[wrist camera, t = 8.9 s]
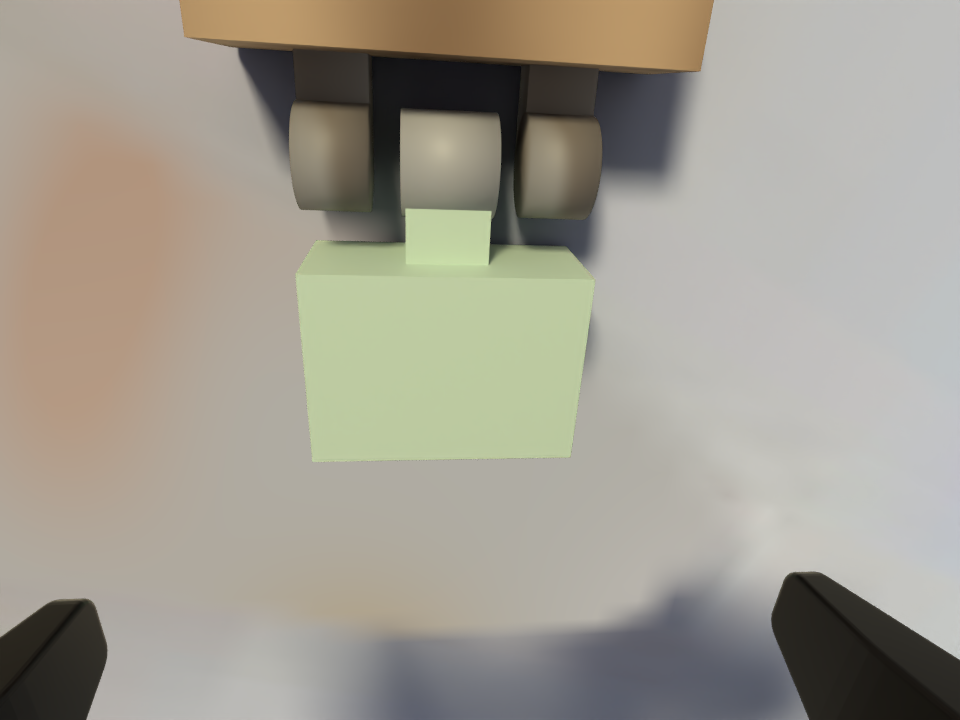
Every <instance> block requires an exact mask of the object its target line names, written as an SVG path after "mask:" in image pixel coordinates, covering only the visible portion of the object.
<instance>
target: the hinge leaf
mask: <svg viewBox="0 0 960 720" xmlns="http://www.w3.org/2000/svg"><path fill="white" fill-rule="evenodd" d="M500 172H501V128H500V119H499V115H498V113H494V112H473V111H453V110H432V109H411V108H401V117H400V186H401V214H402V216H406V242H363V241H320V240H316V242H315V243H314V245H313V247H312V248H311V250H310V251H309V253H308V255H307V256H306V258H305V260H304V261H303V263H302V265H301V266H300V268H299V269H298V271H297V273H296V274H295V275H296V287H297V297H298V309H299V320H300V331H301V342H302V353H303V364H304V375H305V386H306V397H307V407H308V419H309V430H310V441H311V451H312V461H313V462H329V461H330V462H334V461H391V460H451V459H505V458H507V459H509V458H569V457H571V451H572V444H573V437H574V429H575V422H576V415H577V408H578V401H579V394H580V387H581V379H582V372H583V365H584V358H585V351H586V344H587V336H588V329H589V322H590V315H591V308H592V301H593V293H594V286H595V279H594V277H593V276H592V275H591V274H590V273H589V272H588V271H587V270H586V268H585V267H584V266H583V265H582V264H581V263H580V262H579V260H578V259H577V258H576V257H575V256H574V255H573V254H572V253H571V251H570V250H569V249H568V248H567V247H566V246H535V245H492V244H490V230H491V218H493V217H494V215H495V212H496V208H497V202H498V195H499V186H500Z"/></svg>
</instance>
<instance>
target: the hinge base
mask: <svg viewBox="0 0 960 720" xmlns="http://www.w3.org/2000/svg"><path fill="white" fill-rule="evenodd" d="M179 1H180V8H181V15H182V22H183V30H184V37H187V38H192V39H196V40H201V41H206V42H210V43H215V44H219V45H224V46H229V47H238V48H253V49H269V50H284V51H293V63H294V77H295V91H296V100H294V102H293V104H292V108H291V114H290V123H289V156H290V169H291V177H292V184H293V190H294V194H295V198H296V201H297V204H298V206H299V208H300V209H301V210H325V211H353V212H371V211H372V206H373V192H374V141H373V92H372V56H376V57H391V58H406V59H422V60H437V61H452V62H467V63H483V64H498V65H513V66H522V67H521V80H520V93H519V107H518V120H517V133H516V146H515V160H514V204H515V210H516V214H517V216H518V217H519V218H547V219H574V220H584V219H586V218H587V217H588V216H589V214H590V213H591V211H592V208H593V206H594V203H595V200H596V196H597V192H598V188H599V182H600V176H601V167H602V136H601V129H600V125H599V122H598V120H597V119H596V118H595V117H594V116H593V114H594V106H595V98H596V90H597V82H598V74H599V71H605V72H620V73H636V74H662V73H680V72H697V71H700V70H701V65H702V60H703V55H704V49H705V44H706V39H707V34H708V28H709V23H710V18H711V13H712V7H713V2H714V0H179Z"/></svg>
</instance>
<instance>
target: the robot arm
mask: <svg viewBox="0 0 960 720" xmlns="http://www.w3.org/2000/svg"><path fill="white" fill-rule="evenodd" d="M771 622H772V629H773V632H774V635H775V638H776V640H777V642H778V645H779V647H780V650H781V652H782V655H783V657H784V659H785V662H786V664H787V667H788V669H789V672H790V674H791V676H792V679H793V681H794V684H795V686H796V688H797V691H798V693H799V696H800V698H801V701H802V703H803V705H804V708H805V710H806V713H807V715H808V717H809V720H960V660H959V659H957V658H956V657H954V656H953V655H951V654H949V653H948V652H946V651H945V650H943V649H942V648H940V647H938V646H937V645H935V644H934V643H932V642H930V641H929V640H927V639H926V638H924V637H922V636H921V635H919V634H918V633H916V632H915V631H913V630H911V629H910V628H908V627H907V626H905V625H903V624H902V623H900V622H899V621H897V620H896V619H894V618H892V617H891V616H889V615H888V614H886V613H884V612H883V611H881V610H880V609H878V608H876V607H875V606H873V605H872V604H870V603H869V602H867V601H865V600H864V599H862V598H861V597H859V596H857V595H856V594H854V593H853V592H851V591H849V590H848V589H846V588H845V587H843V586H842V585H840V584H838V583H837V582H835V581H834V580H832V579H830V578H829V577H827V576H826V575H824V574H822V573H819V572H793V573H790V574H789V575H787V576H786V577H785V579H784V582H783V584H782V587H781V590H780V592H779V595H778V598H777V601H776V603H775V606H774V609H773V612H772V618H771ZM106 659H107V643H106V639H105V636H104V633H103V630H102V626H101V623H100V620H99V617H98V613H97V610H96V607H95V605H94V603H93V602H92V601H91V600H89V599H60V600H54V601H52V602H49V603H48V604H46V605H44V606H43V607H41V608H40V609H39V610H37V611H36V612H35V613H33V614H32V615H30V616H29V617H28V618H26V619H25V620H24V621H22V622H21V623H19V624H18V625H17V626H15V627H14V628H12V629H11V630H10V631H8V632H7V633H6V634H4V635H3V636H1V637H0V720H86V719H87V716H88V713H89V710H90V708H91V705H92V702H93V699H94V696H95V693H96V690H97V688H98V685H99V682H100V679H101V676H102V673H103V670H104V667H105V664H106Z"/></svg>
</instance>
